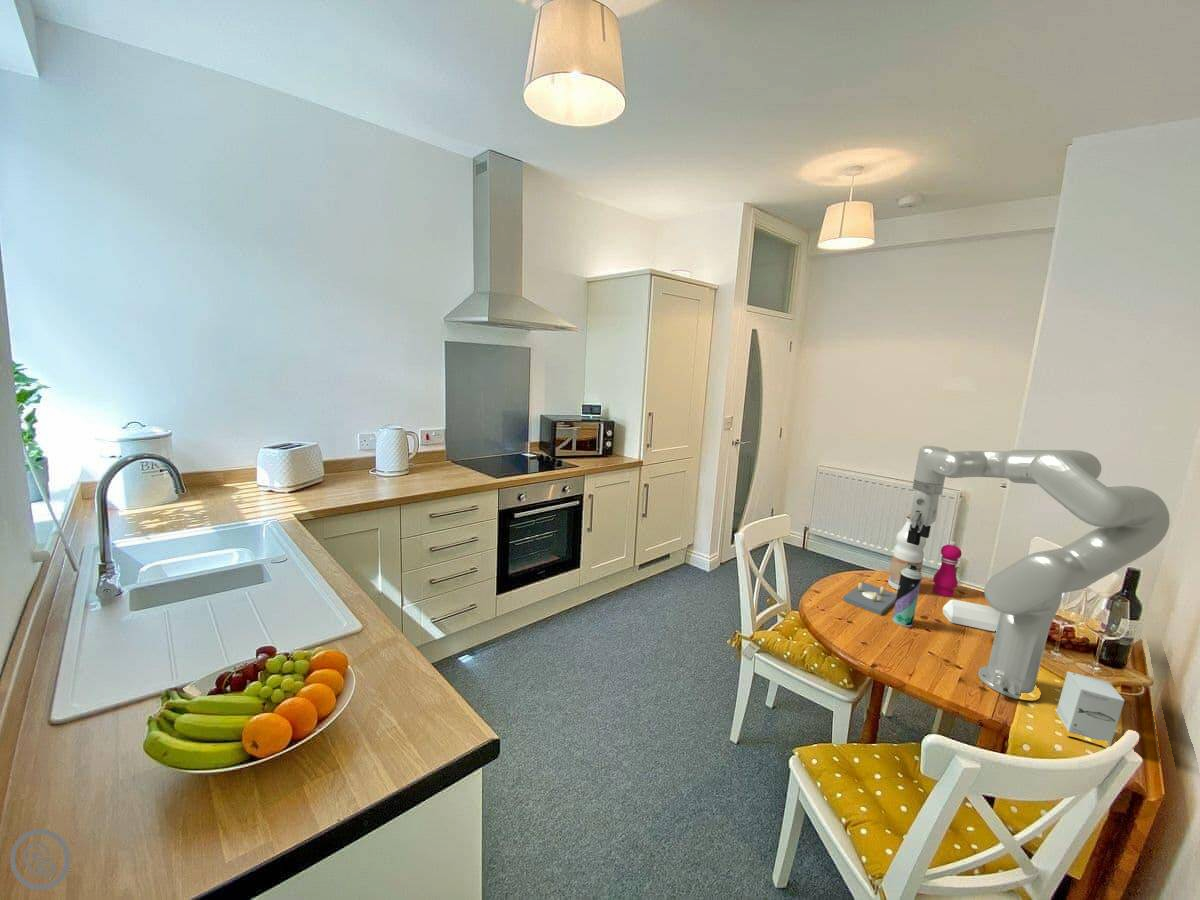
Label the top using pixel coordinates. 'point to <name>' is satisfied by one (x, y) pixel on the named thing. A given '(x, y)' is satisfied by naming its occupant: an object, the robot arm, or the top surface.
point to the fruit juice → (905, 555)
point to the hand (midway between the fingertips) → (917, 540)
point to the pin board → (871, 598)
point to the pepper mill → (947, 571)
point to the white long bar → (971, 614)
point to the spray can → (907, 596)
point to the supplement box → (1089, 707)
